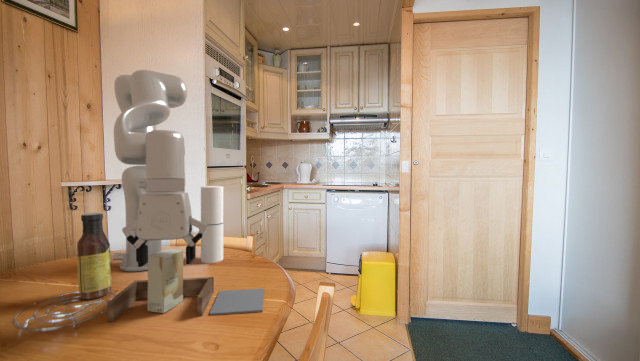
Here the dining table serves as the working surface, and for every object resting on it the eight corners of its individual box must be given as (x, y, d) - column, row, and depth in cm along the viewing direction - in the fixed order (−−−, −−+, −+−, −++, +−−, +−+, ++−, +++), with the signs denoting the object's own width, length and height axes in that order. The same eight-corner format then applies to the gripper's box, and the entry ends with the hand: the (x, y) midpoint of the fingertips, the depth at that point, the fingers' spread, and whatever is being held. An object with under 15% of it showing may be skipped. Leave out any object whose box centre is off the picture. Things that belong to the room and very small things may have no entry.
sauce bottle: (117, 291, 69) (116, 212, 68) (89, 302, 63) (88, 216, 62) (99, 287, 71) (98, 211, 70) (71, 298, 65) (69, 214, 64)
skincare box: (164, 314, 59) (163, 257, 58) (146, 311, 60) (146, 255, 59) (184, 300, 65) (184, 249, 65) (168, 298, 66) (168, 247, 65)
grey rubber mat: (209, 315, 59) (209, 313, 59) (219, 292, 69) (219, 290, 69) (262, 311, 60) (262, 309, 60) (264, 290, 71) (264, 288, 71)
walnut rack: (107, 321, 55) (107, 302, 55) (135, 297, 66) (134, 280, 66) (202, 315, 58) (202, 297, 58) (213, 292, 69) (213, 277, 69)
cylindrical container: (218, 263, 91) (218, 187, 90) (197, 262, 91) (196, 187, 90) (226, 256, 98) (226, 186, 97) (206, 256, 98) (206, 185, 97)
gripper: (112, 188, 56) (114, 271, 56) (202, 187, 59) (203, 267, 59) (131, 186, 63) (132, 260, 64) (210, 186, 66) (211, 257, 67)
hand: (166, 263), depth 61 cm, fingers open, 9 cm apart
